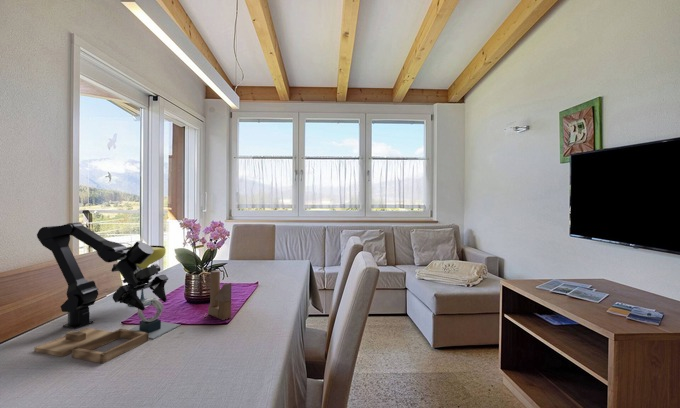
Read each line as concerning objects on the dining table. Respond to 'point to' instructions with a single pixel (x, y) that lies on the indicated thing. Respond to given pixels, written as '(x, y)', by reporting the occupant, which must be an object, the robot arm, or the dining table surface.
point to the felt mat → (164, 329)
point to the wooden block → (219, 297)
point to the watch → (152, 322)
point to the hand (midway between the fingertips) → (155, 305)
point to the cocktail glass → (155, 256)
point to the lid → (70, 341)
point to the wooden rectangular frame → (102, 357)
